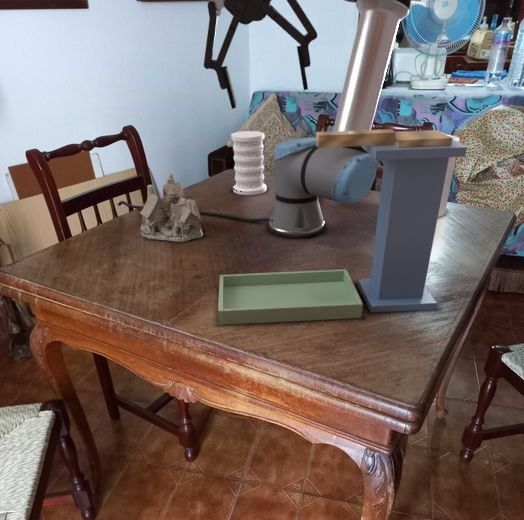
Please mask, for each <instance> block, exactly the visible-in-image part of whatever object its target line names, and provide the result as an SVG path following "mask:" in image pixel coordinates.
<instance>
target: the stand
mask: <svg viewBox="0 0 524 520" xmlns="http://www.w3.org/2000/svg"><path fill="white" fill-rule="evenodd" d="M362 148H363V149H364V150H365V151H366V152H367V153H368V154H369V155H370V156H371V157H372V158H374V159H375V160H376V161H383V168H382V169H383V170H382V175H381V185H380V193H379V203H378V210H377V211H378V212H377V219H376V228H375V237H374V246H373V255H372V263H371V270H370V278H358V279H357V283H356V284H357V287H358V290H359V291H360V294H361V295H362V298H363V300H364V302H365V304H366V306H367V309H368V311H369V312H370V313H371V314H373V313H374V314H375V313H393V312H412V311H413V312H414V311H416V312H417V311H433V310H434V311H435V310H436V309H437V301H436V300H435V299H434V297H433V296H432V295H431V293H430V292H429V290H428V289H427V288H426V282H427V281H426V280H427V277H428V271H429V265H430V261H431V255H432V250H433V249H432V248H433V245H434V239H435V235H436V230H437V229H436V228H437V224H438V220H439V219H438V218H439V217H438V213H439V208H440V203H441V198H442V192H443V187H444V182H445V177H446V171H447V166H448V161H449V157H456V158H465V157H466V154H467V149H468V146H466V145H464V144H462V143H460V142H459V143H458V142H456V141H454V140H452V145H451V146H426V147H401V148H398V147H397V146H395V145H380V146H362Z"/></svg>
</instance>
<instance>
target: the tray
mask: <svg viewBox="0 0 524 520" xmlns="http://www.w3.org/2000/svg"><path fill="white" fill-rule="evenodd" d="M218 284H219V285H218V304H217V315H218V316H217V317H218V325H219V326H224V325H225V326H227V325H243V324H246V325H247V324H265V323H268V324H269V323H288V322H307V321H326V320H327V321H329V320H346V319H361V318H362V315H363V308H364V307H363V306H364V304H363V301H362V299H361V297H360V295H359V293H358V290H357V289H356V286H355V284H354V282H353V280H352V278H351V276H350V274H349V271H348V269H347V268H345V269H321V270H320V269H319V270H300V271H279V272H275V271H274V272H258V273H257V272H256V273H234V274H233V273H232V274H220V275H219V283H218Z"/></svg>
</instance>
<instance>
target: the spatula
mask: <svg viewBox="0 0 524 520" xmlns="http://www.w3.org/2000/svg"><path fill="white" fill-rule="evenodd" d="M332 131H333V130H332ZM332 131H316V132H315V138H316V146H317V147H318V148H329V147H354V146H380V145H395V146H397V147H398V148H401V147H426V146H451V145H452V140H453V138H452V137H450V136H448V135H449V134H446V133H444V132H442V131H440V130H438V129H433V130H432V129H429V130H405V131H394V130H393V129H389V128H388V129H371V130H359V131H333V132H332Z"/></svg>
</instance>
